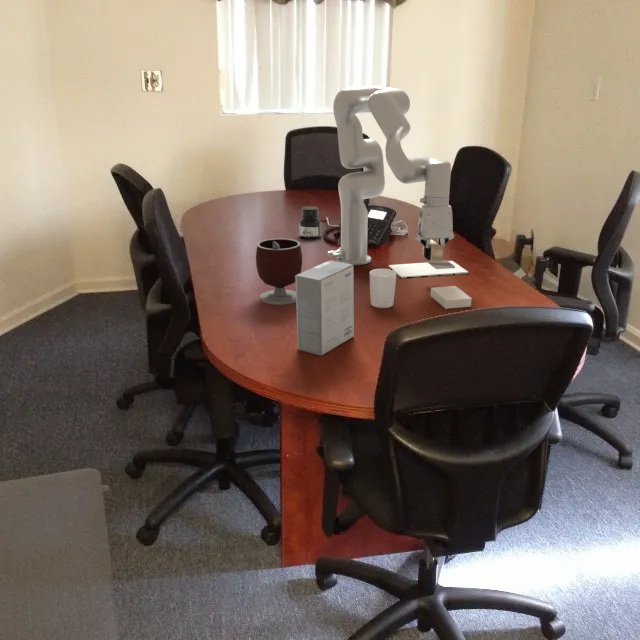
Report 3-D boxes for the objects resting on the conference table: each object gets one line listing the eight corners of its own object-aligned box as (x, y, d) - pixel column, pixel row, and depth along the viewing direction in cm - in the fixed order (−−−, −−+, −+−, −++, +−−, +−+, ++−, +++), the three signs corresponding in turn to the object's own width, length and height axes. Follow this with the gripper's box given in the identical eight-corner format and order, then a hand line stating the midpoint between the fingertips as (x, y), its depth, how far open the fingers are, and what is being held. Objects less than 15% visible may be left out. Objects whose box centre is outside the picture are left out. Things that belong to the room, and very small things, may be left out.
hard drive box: (330, 330, 181) (330, 259, 174) (354, 336, 177) (355, 264, 170) (296, 349, 169) (294, 274, 162) (321, 356, 165) (320, 279, 158)
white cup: (367, 300, 204) (367, 268, 200) (392, 299, 205) (393, 268, 201) (371, 309, 197) (371, 276, 193) (397, 308, 197) (398, 275, 194)
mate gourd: (262, 290, 214) (259, 228, 206) (305, 291, 212) (304, 229, 205) (252, 306, 199) (249, 240, 192) (298, 308, 198) (297, 242, 191)
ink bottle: (295, 238, 276) (294, 209, 272) (303, 233, 284) (303, 205, 279) (317, 240, 273) (316, 211, 268) (325, 235, 280) (325, 206, 276)
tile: (430, 296, 208) (445, 310, 197) (430, 287, 207) (446, 300, 196) (454, 294, 210) (470, 307, 199) (455, 285, 209) (471, 298, 198)
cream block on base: (417, 254, 219) (418, 240, 217) (434, 253, 220) (435, 239, 218) (436, 269, 204) (437, 253, 202) (454, 268, 205) (456, 252, 203)
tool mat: (401, 278, 224) (401, 276, 224) (388, 266, 237) (388, 265, 237) (468, 273, 229) (468, 271, 229) (452, 262, 242) (452, 260, 242)
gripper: (415, 205, 202) (412, 263, 209) (466, 202, 206) (461, 260, 212) (407, 200, 209) (404, 257, 216) (456, 197, 213) (452, 254, 219)
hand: (433, 258), depth 214 cm, fingers closed on cream block on base, 3 cm apart
